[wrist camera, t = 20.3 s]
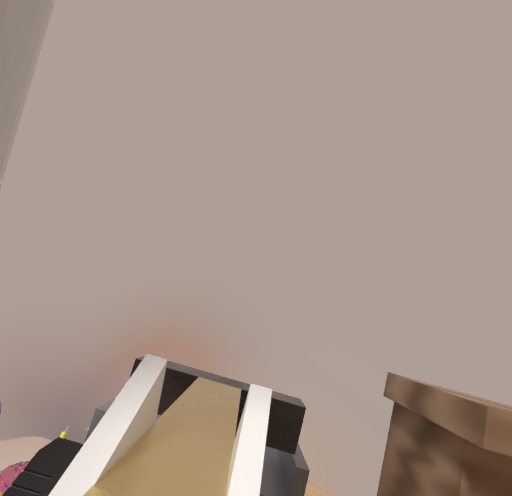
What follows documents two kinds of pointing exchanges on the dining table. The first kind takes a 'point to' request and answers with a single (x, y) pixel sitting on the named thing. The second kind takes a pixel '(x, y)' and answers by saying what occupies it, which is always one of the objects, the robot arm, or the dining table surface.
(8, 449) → the dining table surface
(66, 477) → the robot arm
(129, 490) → the pin
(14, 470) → the cupcake
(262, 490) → the tray stand
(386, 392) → the pin stand
